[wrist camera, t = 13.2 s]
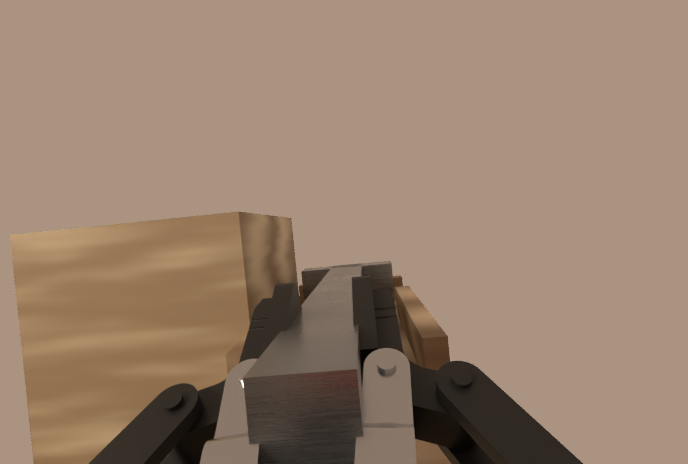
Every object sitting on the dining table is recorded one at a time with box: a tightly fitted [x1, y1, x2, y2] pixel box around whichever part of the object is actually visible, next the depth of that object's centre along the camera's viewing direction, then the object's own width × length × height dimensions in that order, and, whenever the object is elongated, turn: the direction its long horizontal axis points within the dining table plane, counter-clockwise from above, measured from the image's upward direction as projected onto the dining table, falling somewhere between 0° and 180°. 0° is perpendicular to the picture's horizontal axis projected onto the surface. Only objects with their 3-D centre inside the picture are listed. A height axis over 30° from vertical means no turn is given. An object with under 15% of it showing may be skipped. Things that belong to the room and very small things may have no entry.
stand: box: [10, 212, 452, 464], centre depth 25 cm, size 19×21×32 cm
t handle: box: [243, 261, 394, 464], centre depth 20 cm, size 24×7×2 cm, turn 177°
